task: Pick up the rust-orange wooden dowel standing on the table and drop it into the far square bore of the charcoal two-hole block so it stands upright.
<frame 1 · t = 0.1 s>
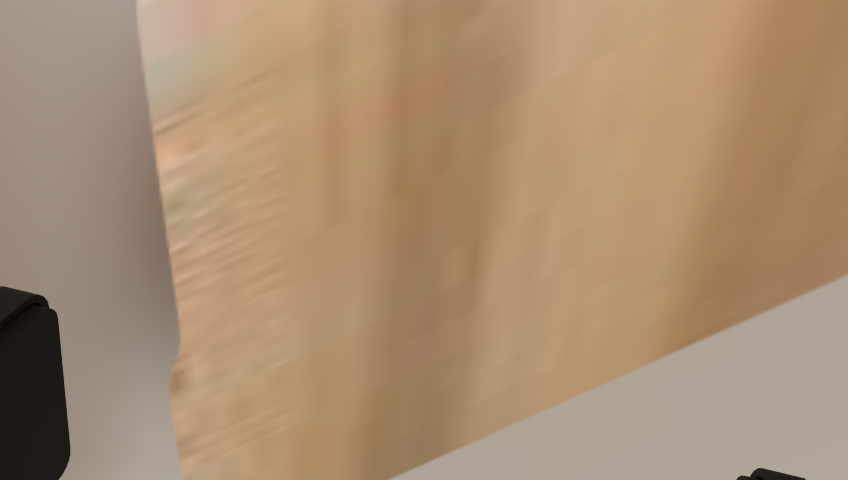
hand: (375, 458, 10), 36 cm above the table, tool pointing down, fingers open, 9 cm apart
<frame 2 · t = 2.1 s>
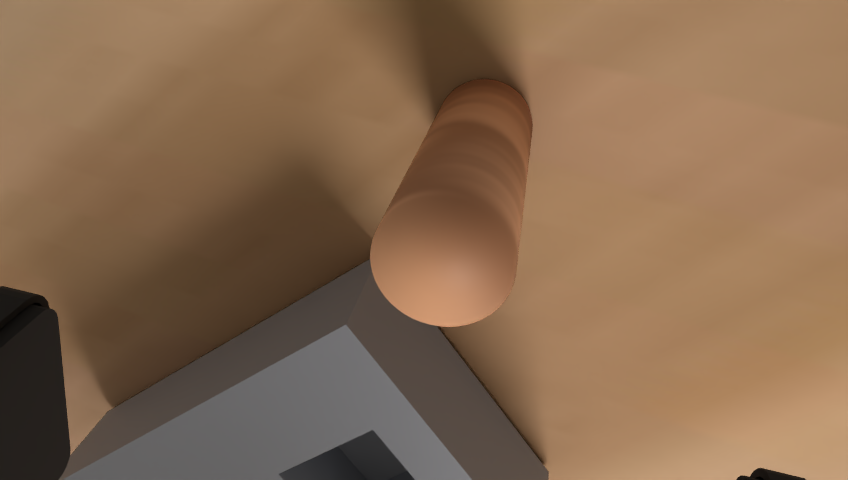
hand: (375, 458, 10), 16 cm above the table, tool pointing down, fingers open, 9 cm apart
dowel: (484, 126, 25), on the table
bore block: (318, 440, 32), on the table
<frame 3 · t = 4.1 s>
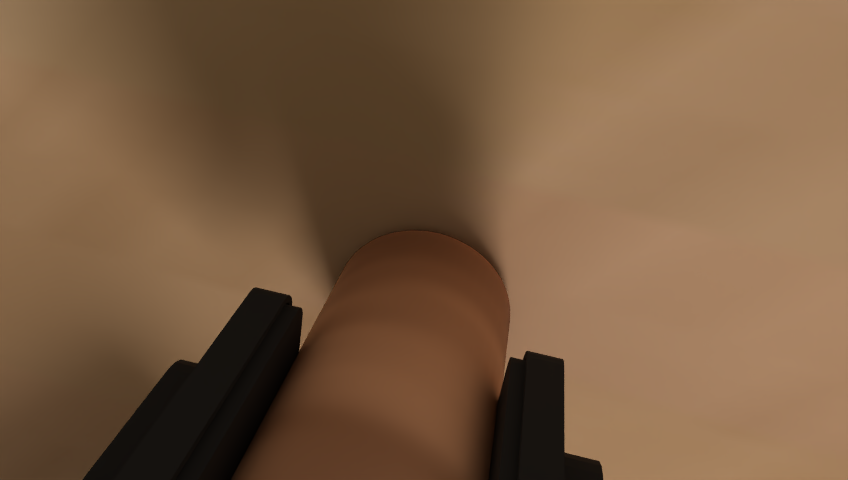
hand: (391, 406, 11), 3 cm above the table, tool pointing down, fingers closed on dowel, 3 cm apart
dowel: (421, 309, 13), on the table, touching gripper
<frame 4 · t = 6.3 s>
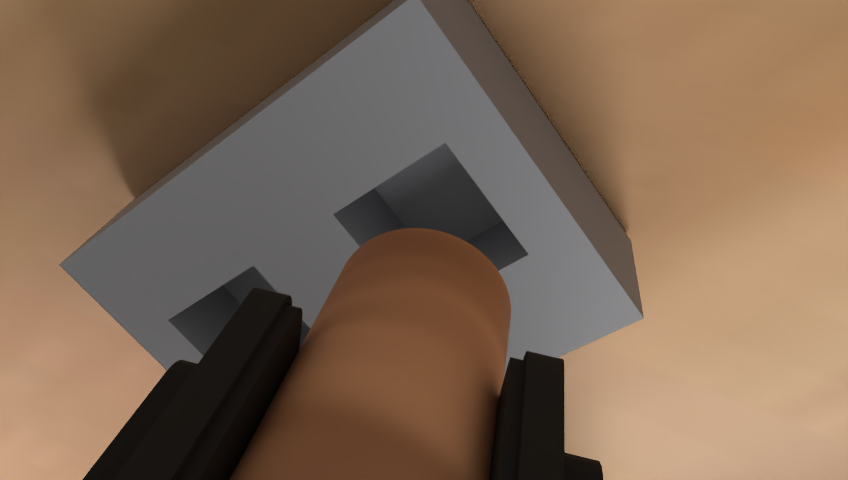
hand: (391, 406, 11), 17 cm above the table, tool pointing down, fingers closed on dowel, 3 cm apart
dowel: (422, 307, 13), point 14 cm above the table, touching gripper
bore block: (368, 220, 29), on the table
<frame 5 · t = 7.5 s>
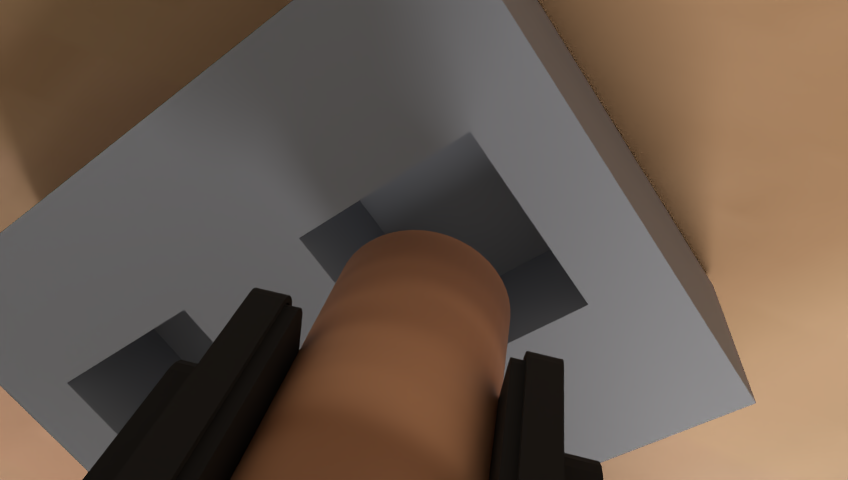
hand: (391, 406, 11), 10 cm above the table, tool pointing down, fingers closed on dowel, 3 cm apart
dowel: (421, 309, 13), point 7 cm above the table, touching gripper
bore block: (354, 249, 21), on the table
when the fingers open (6 cm above the table, at t = 8.6 s): dowel drops 1 cm, resting on bore block.
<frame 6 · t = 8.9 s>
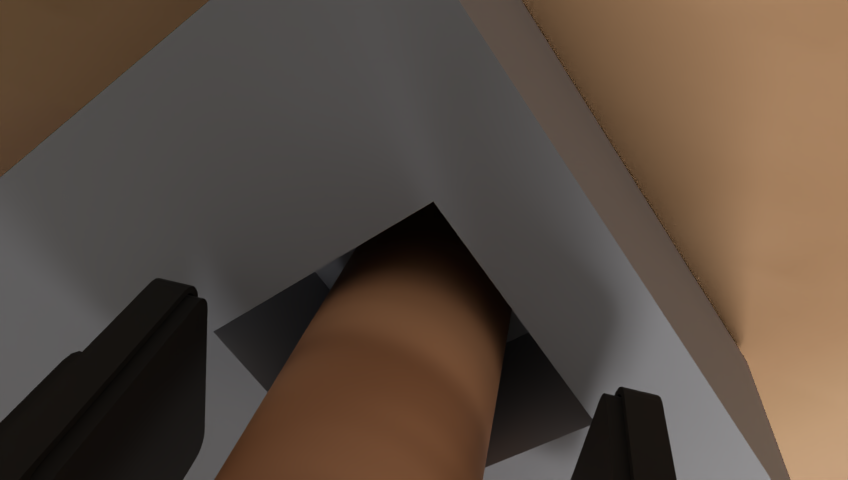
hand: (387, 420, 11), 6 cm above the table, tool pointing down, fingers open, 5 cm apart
dowel: (436, 270, 15), point 2 cm above the table, touching bore block
bore block: (308, 312, 18), on the table
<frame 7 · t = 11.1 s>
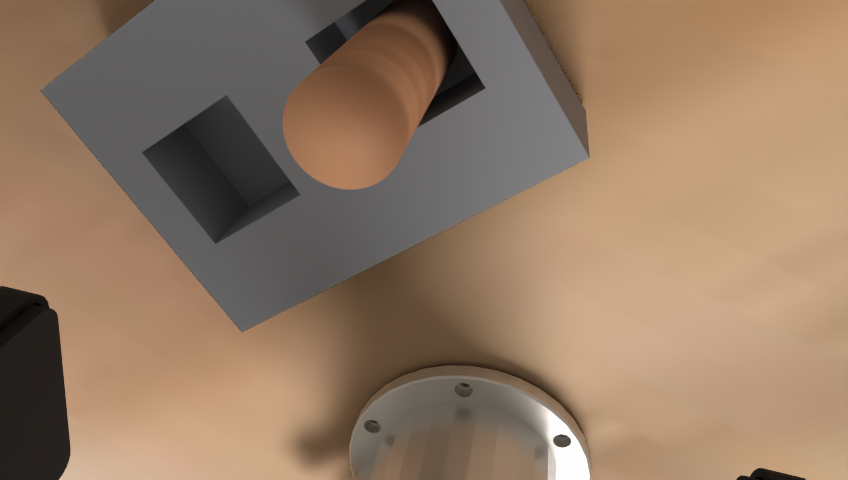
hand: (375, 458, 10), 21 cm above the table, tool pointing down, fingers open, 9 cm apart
dowel: (414, 40, 27), point 2 cm above the table, touching bore block
bore block: (340, 82, 30), on the table
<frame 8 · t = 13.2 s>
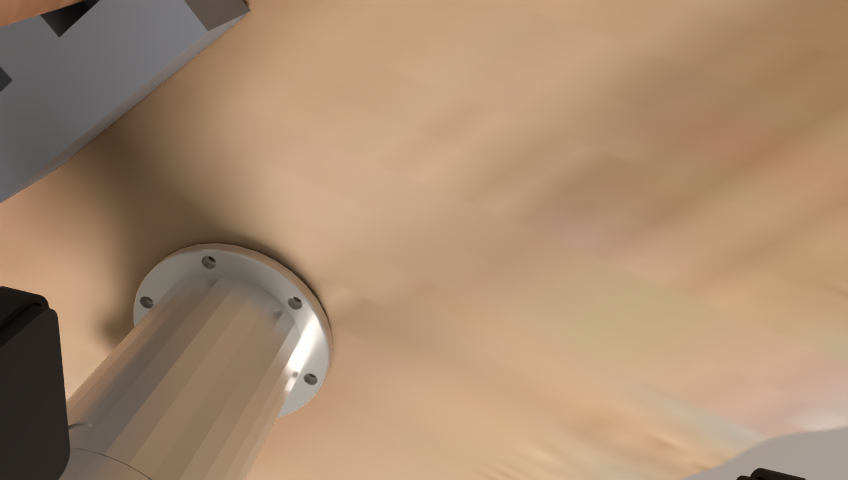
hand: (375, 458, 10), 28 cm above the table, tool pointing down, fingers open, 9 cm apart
bore block: (65, 0, 38), on the table
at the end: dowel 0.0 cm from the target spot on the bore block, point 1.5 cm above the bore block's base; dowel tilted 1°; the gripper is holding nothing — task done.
